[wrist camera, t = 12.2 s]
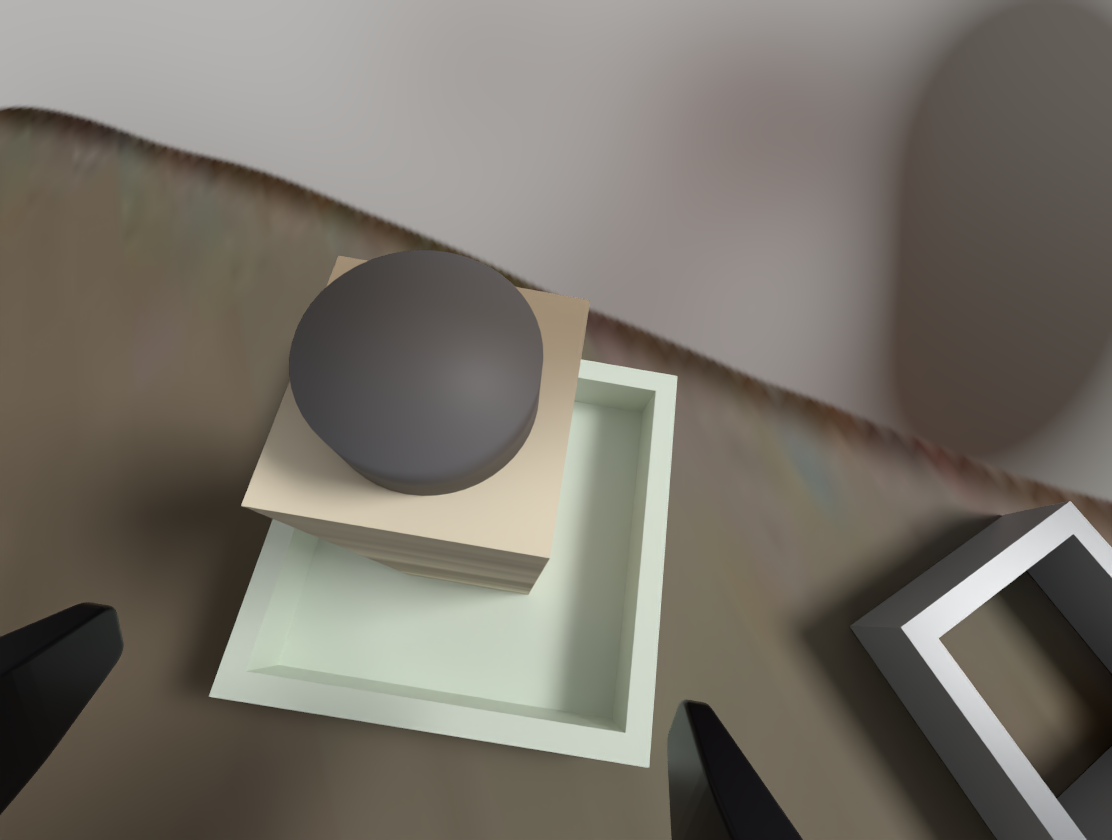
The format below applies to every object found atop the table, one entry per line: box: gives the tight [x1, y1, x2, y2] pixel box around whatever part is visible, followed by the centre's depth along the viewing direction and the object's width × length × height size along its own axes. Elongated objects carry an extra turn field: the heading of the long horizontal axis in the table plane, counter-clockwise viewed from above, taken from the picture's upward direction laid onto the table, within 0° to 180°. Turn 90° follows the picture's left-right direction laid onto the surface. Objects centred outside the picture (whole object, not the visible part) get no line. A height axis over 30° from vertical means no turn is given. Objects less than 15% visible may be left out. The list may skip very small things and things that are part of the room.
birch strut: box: [241, 250, 590, 595], centre depth 12 cm, size 4×4×12 cm
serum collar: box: [850, 501, 1112, 840], centre depth 16 cm, size 8×8×2 cm
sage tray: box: [209, 360, 677, 768], centre depth 17 cm, size 12×12×2 cm
